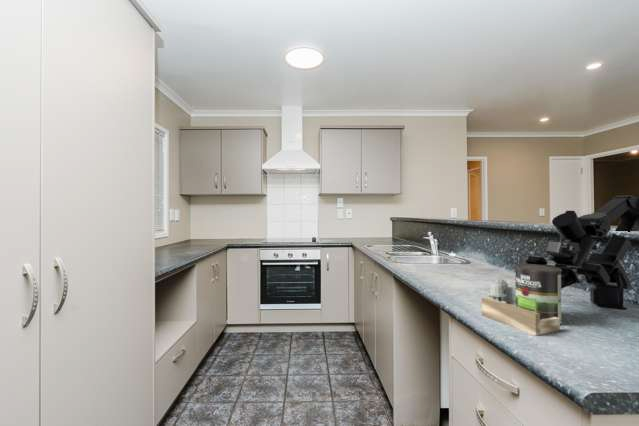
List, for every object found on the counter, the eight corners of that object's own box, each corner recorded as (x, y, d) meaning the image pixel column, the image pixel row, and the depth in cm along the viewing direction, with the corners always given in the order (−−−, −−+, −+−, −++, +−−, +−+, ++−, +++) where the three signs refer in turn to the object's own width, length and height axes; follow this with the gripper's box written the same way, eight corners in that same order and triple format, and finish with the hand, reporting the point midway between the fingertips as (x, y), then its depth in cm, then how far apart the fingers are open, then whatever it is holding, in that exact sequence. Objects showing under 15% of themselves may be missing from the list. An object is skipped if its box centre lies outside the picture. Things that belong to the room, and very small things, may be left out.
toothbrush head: (509, 278, 113) (506, 282, 93) (509, 296, 112) (506, 304, 92) (493, 277, 116) (486, 280, 96) (493, 294, 115) (486, 301, 95)
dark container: (545, 328, 74) (544, 272, 74) (506, 315, 84) (506, 265, 84) (571, 322, 78) (570, 268, 78) (531, 310, 88) (530, 262, 88)
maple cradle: (503, 311, 87) (503, 294, 87) (559, 330, 73) (559, 310, 73) (481, 315, 84) (481, 297, 84) (535, 335, 70) (535, 314, 70)
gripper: (529, 229, 93) (504, 267, 90) (602, 233, 76) (575, 279, 72) (546, 253, 96) (522, 290, 92) (621, 262, 78) (595, 308, 75)
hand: (550, 291), depth 83 cm, fingers closed
